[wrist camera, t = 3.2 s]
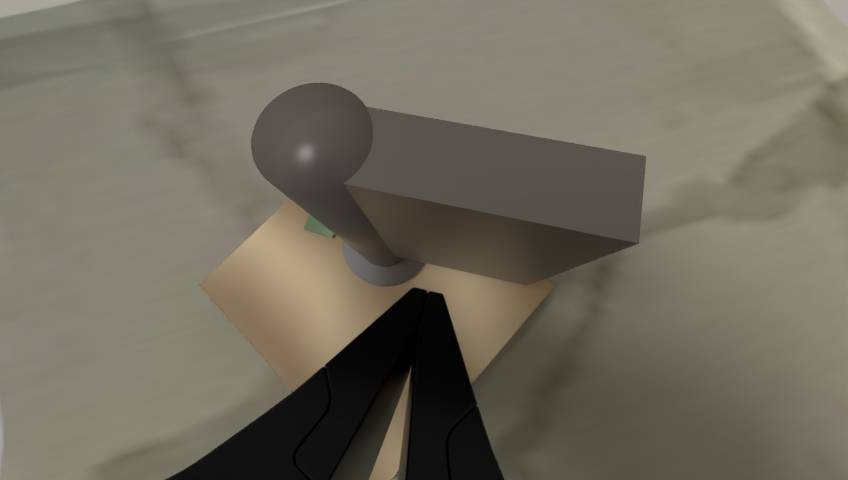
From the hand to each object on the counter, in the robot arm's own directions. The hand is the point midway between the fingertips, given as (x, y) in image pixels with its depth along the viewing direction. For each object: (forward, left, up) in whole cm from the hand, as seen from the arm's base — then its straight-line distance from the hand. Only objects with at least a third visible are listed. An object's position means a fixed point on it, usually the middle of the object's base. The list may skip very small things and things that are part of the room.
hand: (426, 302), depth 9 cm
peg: (+4, +2, -7) cm, 8 cm away
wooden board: (-1, +3, -8) cm, 9 cm away
